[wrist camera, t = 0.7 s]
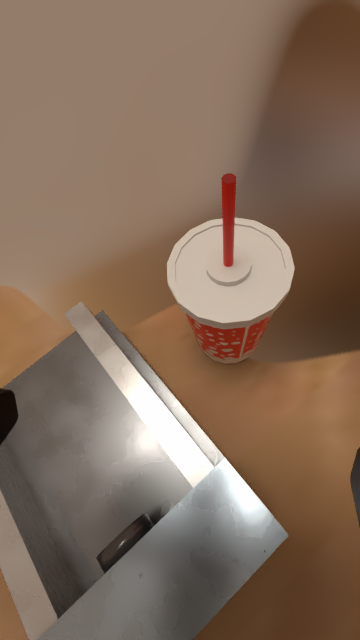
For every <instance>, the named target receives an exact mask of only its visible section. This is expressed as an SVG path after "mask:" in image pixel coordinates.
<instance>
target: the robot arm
mask: <svg viewBox="0 0 360 640" xmlns="http://www.w3.org/2000/svg"><path fill="white" fill-rule="evenodd" d="M18 416H19V413H18V408H17V403H16V397H15V393H14V392H13V391H12V390H8V389H2V388H0V446H1V444H2V443H3V441H4V440H5V438H6V437H7V436H8V434H9V433H10V431H11V430H12V429H13V427H14V426H15V424H16V423H17V420H18ZM350 481H351V488H352V492H353V497H354V502H355V507H356V511H357V516H358V521H359V526H360V447H359V449H358V450H357V453H356V457H355V460H354V464H353V468H352V471H351V477H350Z"/></svg>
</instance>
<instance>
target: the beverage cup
mask: <svg viewBox="0 0 360 640" xmlns="http://www.w3.org/2000/svg"><path fill="white" fill-rule="evenodd" d="M235 194H236V176H235V175H233V174H225V175H224V176H223V177H222V215H223V216H222V217H223V219H217V220H210V221H208V222H206V223H204V224H202V225H199V226H197V227H195V228H193V229H191V230H190V231H189V232H187V233H186V234H185V235H184V236H183V238H181V239H180V240H179V241H178V242H177V244H175V246H174V248H173V251H172V253H171V255H170V258H169V260H168V262H167V274H168V285H169V288H170V289H171V292H172V294H173V296H174V298H175V299H176V301H177V303H178V305H179V307H180V309H181V310H182V311H184V312H185V313H186V315H187V317H188V320H189V322H190V324H191V327H192V329H193V331H194V334H195V336H196V338H197V340H198V343H199V345H200V346H201V348H202V350H203V352H204V353H205V354H206V355H207V356H209V357H210V358H211V359H212V360H214V361H217V362H221V363H224V364H230V363H238V362H240V361H242V360H244V359H246V358H248V357H249V356H250V355H251V354H252V353H253V351H254V350H255V349H256V348H257V346H258V343H259V341H260V339H261V337H262V335H263V333H264V331H265V329H266V326H267V324H268V322H269V320H270V318H271V316H272V314H273V313H274V311H275V310H276V309H277V308H278V307H279V305H280V304H281V303H282V301H284V299H285V298H286V295H287V294H288V292H289V290H290V286H291V281H292V277H293V272H294V269H295V268H294V264H293V260H292V256H291V252H290V248H289V247H288V246H287V244H286V243H285V242H284V241H283V240H282V238H281V237H280V236H279V235H278V234H277V233H276V231H274V230H272V229H270V228H268V227H266V226H264V225H263V224H261V223H258V222H257V221H253V220H247V219H241V218H235Z"/></svg>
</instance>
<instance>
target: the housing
mask: <svg viewBox="0 0 360 640" xmlns="http://www.w3.org/2000/svg"><path fill="white" fill-rule="evenodd" d="M64 315H65V316H66V318H67V319H68V320H69V322H70V323H71V324H72V325H73V327H74V328H75V329H76V331H75V332H74V333H72V334H71V335H70V336H69V337H67V338H66V339H65V340H64V341H62V342H61V343H60V344H58V345H57V346H56V347H55V348H53V349H52V350H51V351H49V352H48V353H47V354H46V355H44V356H43V357H42V358H40V359H39V360H38V361H37V362H35V363H34V364H33V365H31V366H30V367H29V368H28V369H26V370H25V371H24V372H22V373H21V374H20V375H19V376H17V377H16V378H15V379H13V380H12V381H11V382H10V383H8V384H7V385H6V386H4V387H3V388H2V389H8V390H12V391H13V392H14V393H15V397H16V403H17V408H18V413H19V416H18V420H17V423H16V424H15V426H14V427H13V429H12V430H11V431H10V433H9V434H8V436H7V437H6V438H5V440H4V441H3V443H2V444H1V446H0V568H1V571H2V573H3V576H4V578H5V581H6V583H7V586H8V588H9V591H10V593H11V596H12V598H13V601H14V603H15V606H16V608H17V611H18V613H19V616H20V618H21V621H22V623H23V626H24V628H25V631H26V633H27V636H28V638H29V640H193V639H194V638H195V637H196V636H197V635H198V634H199V632H200V631H201V630H202V629H203V628H204V627H205V626H206V625H207V624H208V623H209V622H210V621H211V619H212V618H213V617H214V616H215V615H216V614H217V613H218V612H219V611H220V610H221V609H222V607H223V606H224V605H225V604H226V603H227V602H228V601H229V600H230V599H231V598H232V597H233V596H234V594H235V593H236V592H237V591H238V590H239V589H240V588H241V587H242V586H243V585H244V584H245V583H246V581H247V580H248V579H249V578H250V577H251V576H252V575H253V574H254V573H255V572H256V571H257V569H258V568H259V567H260V566H261V565H262V564H263V563H264V562H265V561H266V560H267V559H268V558H269V556H270V555H271V554H272V553H273V552H274V551H275V550H276V549H277V548H278V547H279V546H280V545H281V543H282V542H283V541H284V540H285V539H286V538H287V537H288V536H289V535H288V533H287V532H286V531H285V530H284V528H283V527H282V526H281V525H280V523H279V522H278V521H277V520H276V518H275V517H274V516H273V515H272V513H271V512H270V511H269V510H268V509H267V507H266V506H265V505H264V504H263V503H262V501H261V500H260V499H259V498H258V497H257V495H256V494H255V493H254V492H253V491H252V489H251V488H250V487H249V486H248V485H247V483H246V482H245V481H244V480H243V479H242V477H241V476H240V475H239V474H238V473H237V471H236V470H235V469H234V468H233V466H232V465H231V464H230V463H229V462H228V460H227V459H226V458H225V457H224V456H223V454H222V453H221V452H220V451H219V450H218V448H217V447H216V446H215V445H214V444H213V442H212V441H211V440H210V439H209V438H208V436H207V435H206V434H205V433H204V432H203V430H202V429H201V428H200V427H199V426H198V424H197V423H196V422H195V421H194V420H193V418H192V417H191V416H190V415H189V413H188V412H187V411H186V410H185V409H184V407H183V406H182V405H181V404H180V403H179V401H178V400H177V399H176V398H175V397H174V395H173V394H172V393H171V392H170V391H169V389H168V388H167V387H166V386H165V385H164V383H163V382H162V381H161V380H160V379H159V377H158V376H157V375H156V374H155V373H154V371H153V370H152V369H151V368H150V367H149V365H148V364H147V363H146V362H145V360H144V359H143V358H142V357H141V356H140V354H139V353H138V352H137V351H136V350H135V348H134V347H133V346H132V345H131V344H130V342H129V341H128V340H127V339H126V338H125V336H124V335H123V334H122V333H121V332H120V331H119V329H118V328H117V327H116V326H115V324H114V323H113V322H112V321H111V320H110V318H109V317H108V316H107V315H106V314H105V312H104V311H103V310H102V311H101V312H99V313H98V314H97V315H96V316H95V315H94V314H93V313H92V312H91V311H90V310H89V309H88V308H87V307H86V306H85V305H84V304H83V303H82V301H81V302H79V303H78V304H77V305H76V306H74V307H73V308H71V309H70V310H69V311H67V312H66V313H65V314H64Z"/></svg>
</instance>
